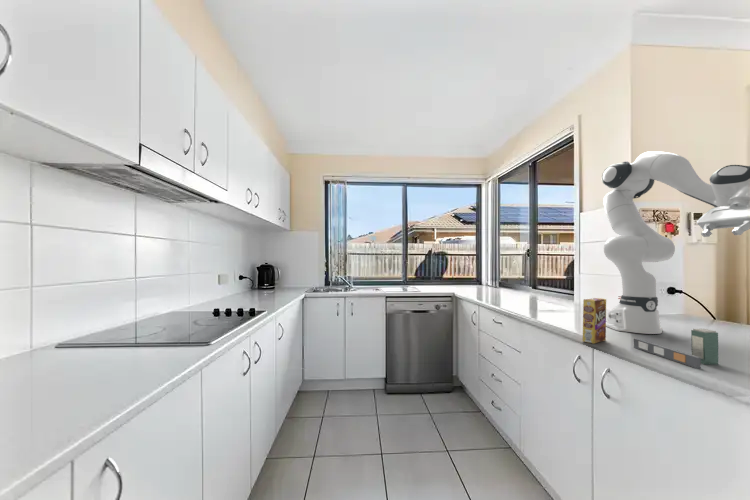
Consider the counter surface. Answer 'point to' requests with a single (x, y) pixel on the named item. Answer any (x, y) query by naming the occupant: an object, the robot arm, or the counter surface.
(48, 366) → the counter surface
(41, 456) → the counter surface
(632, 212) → the robot arm
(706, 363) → the tea tin
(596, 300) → the candy box
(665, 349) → the rail
